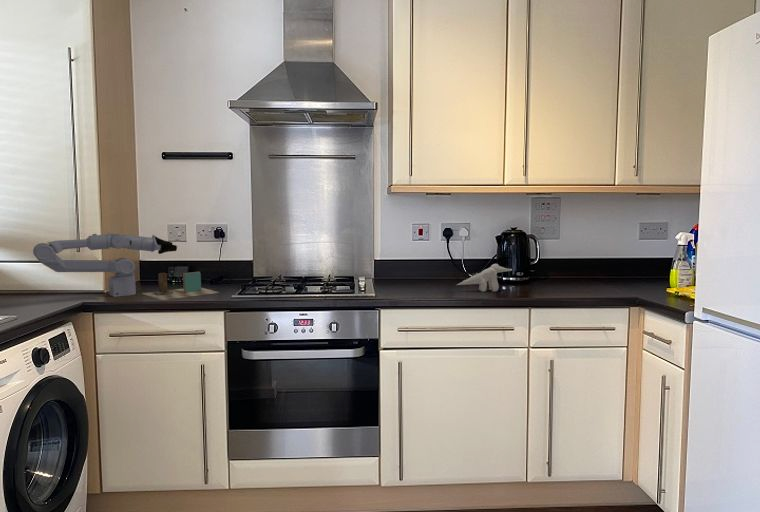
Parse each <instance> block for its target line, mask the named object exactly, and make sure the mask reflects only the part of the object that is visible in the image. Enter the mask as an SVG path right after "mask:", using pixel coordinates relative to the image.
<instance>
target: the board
mask: <svg viewBox="0 0 760 512" xmlns="http://www.w3.org/2000/svg"><path fill="white" fill-rule="evenodd" d="M169 290H170V291H173V294H167V295H159V296H158V295H155V294H154V292H155V291H152V292H150V291H149V292H142V293H141V294H142V295H144V296H148V297H151V298H154V299H155V300H159V301H166V300H174V299H175V300H176V299H181V298H189V297H198V296H204V295H212V294H219V293H220V294H221V292H220V291H216V290H213V289H209V288H208V289H207V288H204V287H201V291H194V292H186V293H184V287H182V288H176V289H169Z"/></svg>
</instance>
